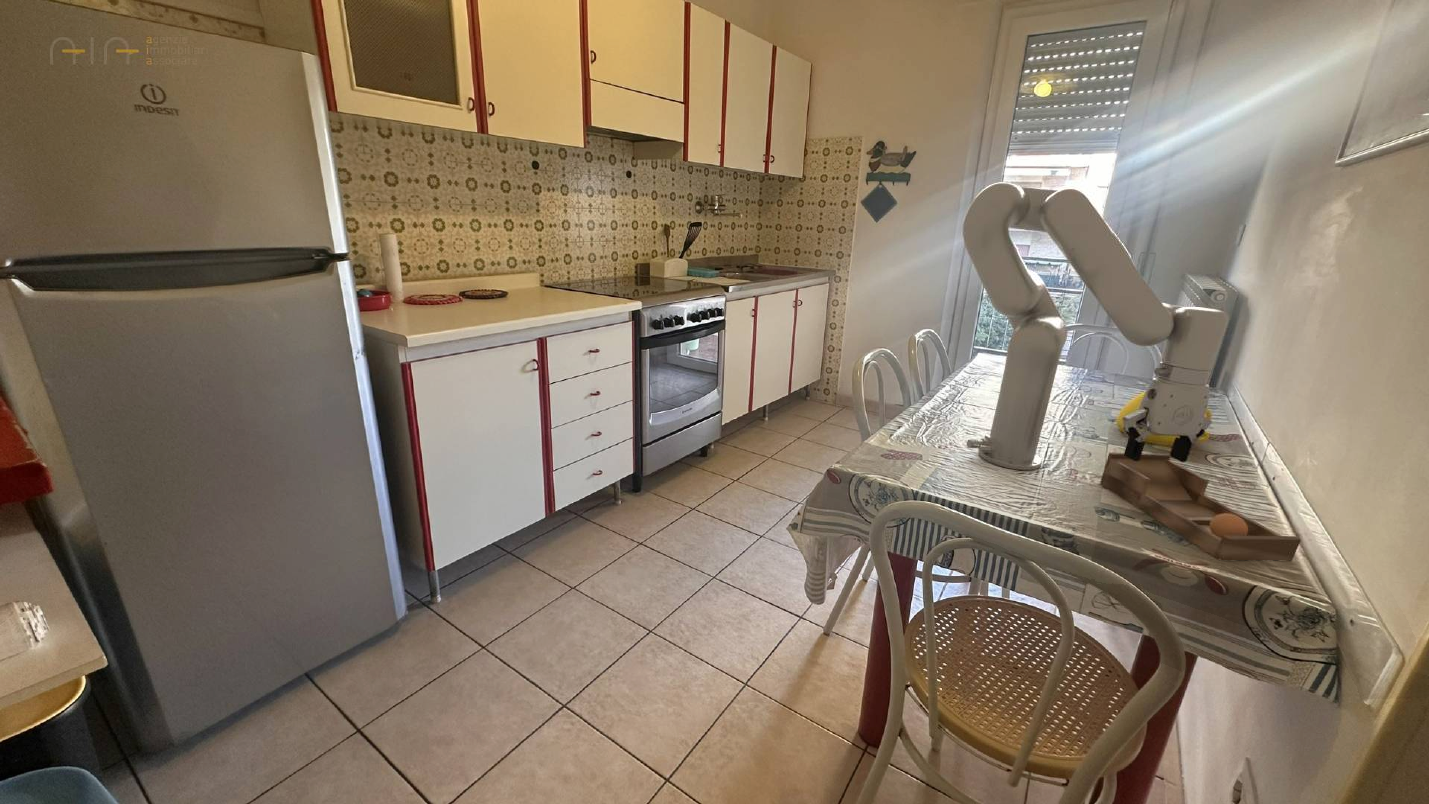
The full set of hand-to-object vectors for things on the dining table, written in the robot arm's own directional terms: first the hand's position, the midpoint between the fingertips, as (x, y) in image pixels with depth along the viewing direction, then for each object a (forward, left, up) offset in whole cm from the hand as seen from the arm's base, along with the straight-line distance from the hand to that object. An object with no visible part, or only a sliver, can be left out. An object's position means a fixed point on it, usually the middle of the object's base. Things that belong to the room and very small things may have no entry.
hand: (1154, 458), depth 110 cm
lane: (0, -10, -7) cm, 12 cm away
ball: (0, -17, -5) cm, 18 cm away
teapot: (+29, +30, -8) cm, 42 cm away
